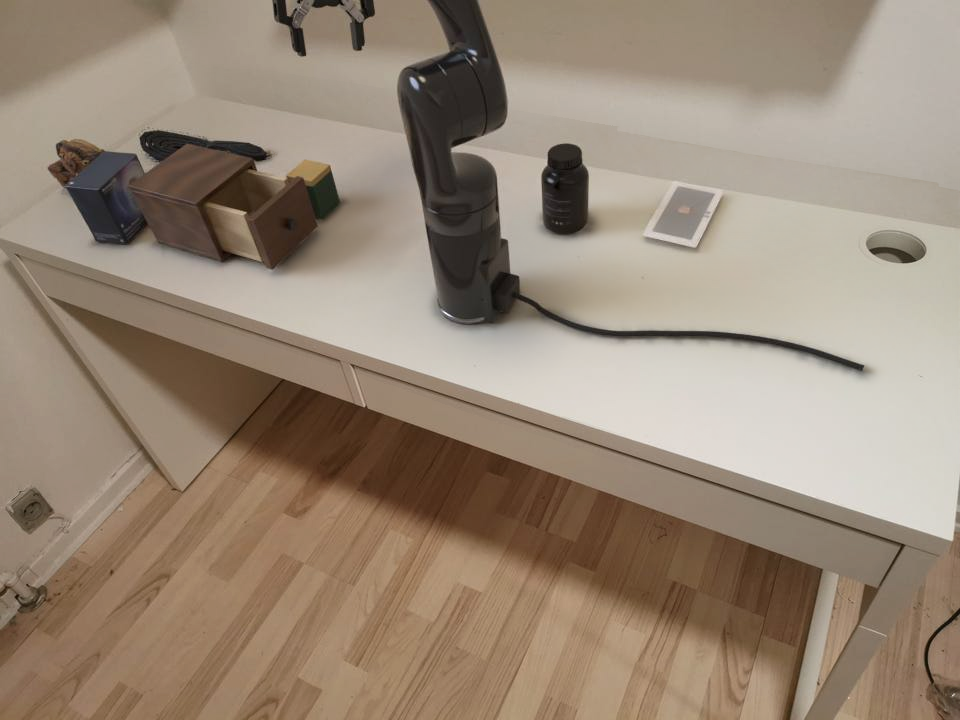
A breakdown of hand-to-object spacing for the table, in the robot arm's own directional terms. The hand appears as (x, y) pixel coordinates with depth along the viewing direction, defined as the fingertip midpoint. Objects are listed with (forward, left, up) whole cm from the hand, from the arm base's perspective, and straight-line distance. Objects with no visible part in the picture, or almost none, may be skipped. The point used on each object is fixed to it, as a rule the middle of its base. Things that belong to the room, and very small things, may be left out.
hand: (330, 53), depth 103 cm
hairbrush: (+33, +2, -22) cm, 40 cm away
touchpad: (-53, -8, -22) cm, 58 cm away
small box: (+30, +24, -22) cm, 44 cm away
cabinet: (+15, +20, -22) cm, 33 cm away
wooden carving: (+42, +20, -22) cm, 52 cm away
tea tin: (+2, +9, -22) cm, 24 cm away
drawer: (+4, +20, -21) cm, 29 cm away
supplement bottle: (-37, -1, -22) cm, 43 cm away
